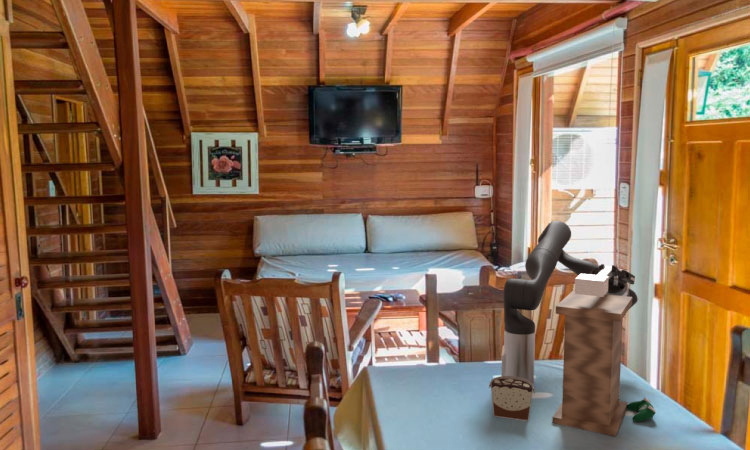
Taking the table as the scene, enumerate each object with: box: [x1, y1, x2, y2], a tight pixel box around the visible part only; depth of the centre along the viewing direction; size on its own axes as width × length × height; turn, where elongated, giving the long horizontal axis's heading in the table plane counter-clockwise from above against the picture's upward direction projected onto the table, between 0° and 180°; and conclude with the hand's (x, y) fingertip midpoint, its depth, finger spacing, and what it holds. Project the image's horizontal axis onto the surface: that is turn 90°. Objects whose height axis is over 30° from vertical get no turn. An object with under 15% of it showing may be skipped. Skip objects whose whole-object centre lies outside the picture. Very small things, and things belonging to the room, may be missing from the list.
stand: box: [551, 290, 632, 437], centre depth 166 cm, size 16×20×32 cm
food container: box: [488, 376, 536, 422], centre depth 168 cm, size 12×6×10 cm, turn 71°
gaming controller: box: [627, 397, 657, 423], centre depth 167 cm, size 9×4×6 cm
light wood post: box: [574, 265, 613, 297], centre depth 168 cm, size 7×32×4 cm, turn 150°
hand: (607, 267), depth 178 cm, fingers closed on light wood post, 2 cm apart
